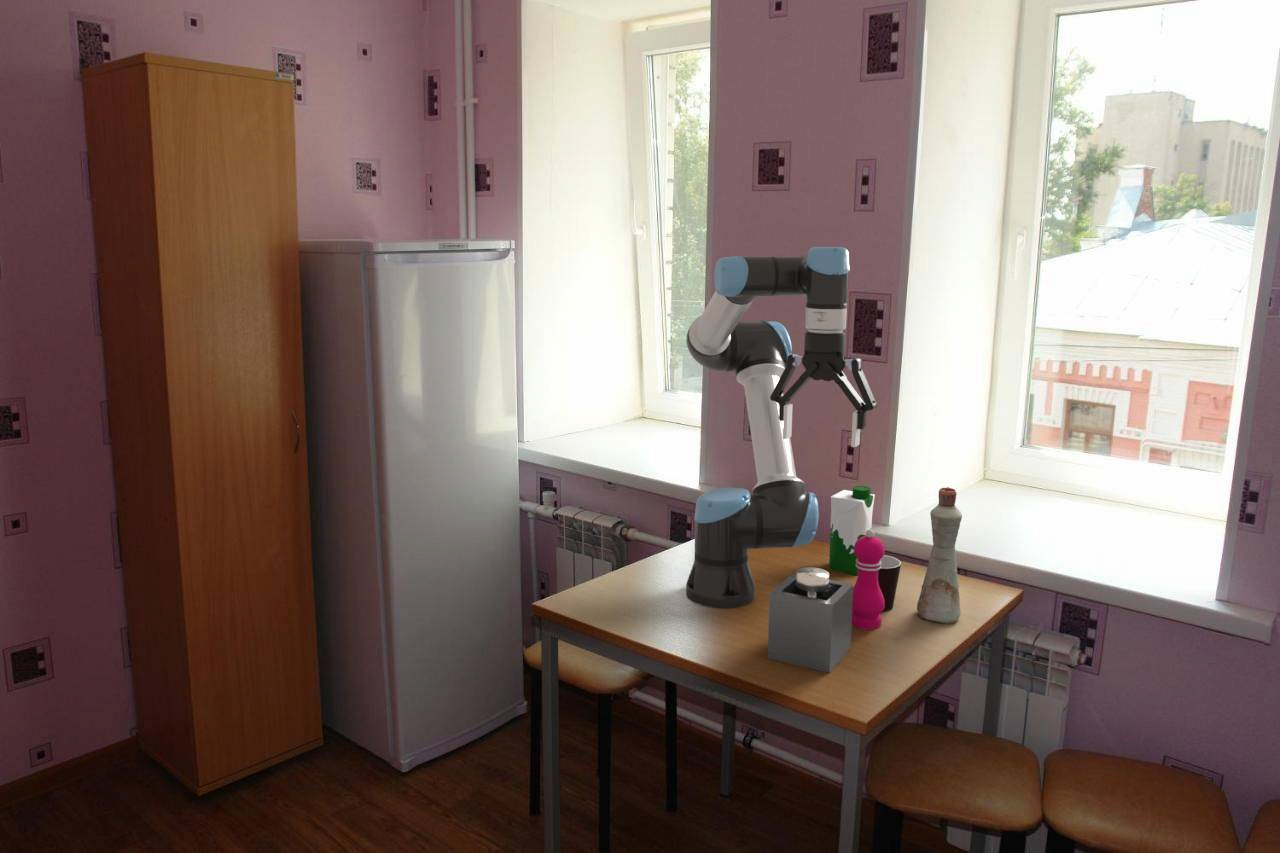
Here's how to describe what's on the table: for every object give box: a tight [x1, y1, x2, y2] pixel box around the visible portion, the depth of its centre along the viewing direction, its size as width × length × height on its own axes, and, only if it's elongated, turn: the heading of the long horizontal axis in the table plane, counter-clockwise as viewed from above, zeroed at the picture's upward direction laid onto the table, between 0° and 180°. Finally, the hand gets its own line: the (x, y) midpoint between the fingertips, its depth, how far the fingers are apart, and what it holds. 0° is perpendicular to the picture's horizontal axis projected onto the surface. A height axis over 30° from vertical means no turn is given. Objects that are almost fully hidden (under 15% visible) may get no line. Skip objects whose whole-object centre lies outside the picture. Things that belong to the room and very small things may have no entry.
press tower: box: [767, 572, 855, 674], centre depth 177 cm, size 12×12×13 cm
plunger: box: [795, 567, 830, 598], centre depth 177 cm, size 8×8×15 cm
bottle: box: [916, 486, 963, 625], centre depth 193 cm, size 9×9×28 cm
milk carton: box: [828, 485, 876, 576], centre depth 222 cm, size 9×9×20 cm
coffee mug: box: [878, 554, 902, 613], centre depth 202 cm, size 12×9×10 cm
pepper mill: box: [851, 528, 886, 631], centre depth 190 cm, size 7×7×20 cm
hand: (820, 441), depth 181 cm, fingers open, 13 cm apart
